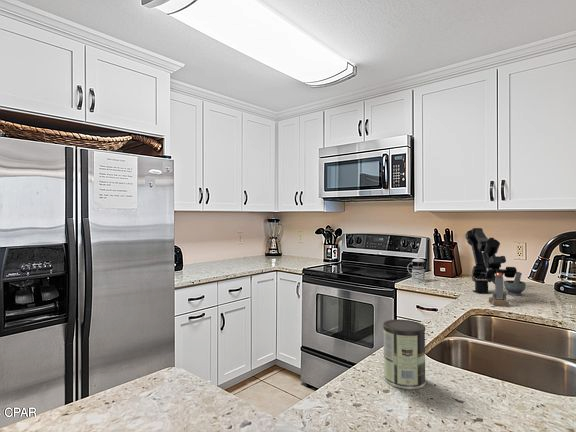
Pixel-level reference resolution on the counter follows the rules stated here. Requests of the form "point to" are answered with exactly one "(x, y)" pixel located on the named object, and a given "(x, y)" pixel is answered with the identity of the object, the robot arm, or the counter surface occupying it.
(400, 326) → the coffee can
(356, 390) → the counter surface
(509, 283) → the mortar and pestle
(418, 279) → the french press
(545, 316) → the counter surface
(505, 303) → the stand
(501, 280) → the nutcracker lever
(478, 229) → the robot arm
